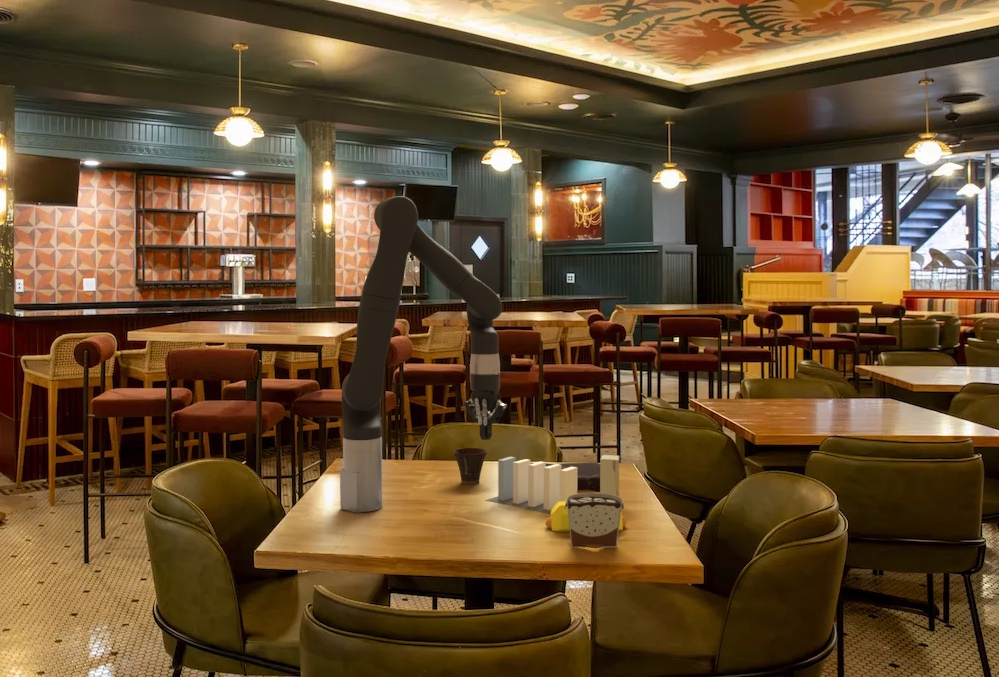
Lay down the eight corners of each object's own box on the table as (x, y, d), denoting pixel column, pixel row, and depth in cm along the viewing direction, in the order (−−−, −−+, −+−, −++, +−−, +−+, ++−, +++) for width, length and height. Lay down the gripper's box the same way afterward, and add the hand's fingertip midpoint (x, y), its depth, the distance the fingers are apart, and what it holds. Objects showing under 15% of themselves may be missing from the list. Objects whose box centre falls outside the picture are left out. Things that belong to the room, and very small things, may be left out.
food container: (618, 538, 180) (619, 492, 179) (624, 547, 173) (624, 499, 173) (561, 538, 179) (561, 492, 179) (564, 547, 173) (564, 499, 172)
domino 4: (549, 510, 199) (549, 468, 199) (543, 509, 200) (543, 467, 200) (561, 505, 203) (561, 464, 203) (555, 504, 204) (555, 463, 204)
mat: (569, 520, 193) (569, 517, 193) (485, 502, 208) (485, 500, 208) (592, 511, 201) (592, 508, 201) (509, 494, 216) (509, 492, 216)
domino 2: (518, 503, 205) (518, 463, 205) (513, 502, 206) (513, 462, 206) (530, 499, 209) (530, 459, 208) (525, 498, 210) (525, 459, 209)
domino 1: (503, 500, 208) (503, 460, 207) (498, 499, 209) (498, 459, 208) (515, 496, 212) (515, 457, 211) (510, 495, 213) (510, 456, 212)
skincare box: (617, 510, 201) (618, 460, 201) (599, 509, 202) (599, 459, 201) (619, 504, 208) (619, 454, 207) (601, 503, 208) (602, 454, 208)
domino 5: (565, 513, 197) (565, 471, 196) (559, 512, 198) (560, 470, 197) (577, 509, 201) (577, 467, 200) (571, 507, 202) (571, 466, 201)
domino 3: (533, 506, 202) (533, 465, 202) (528, 505, 203) (528, 464, 203) (545, 502, 206) (545, 462, 206) (540, 501, 207) (540, 461, 207)
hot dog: (630, 535, 182) (623, 525, 190) (630, 505, 182) (623, 496, 189) (547, 536, 181) (543, 526, 189) (547, 506, 181) (543, 497, 189)
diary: (615, 494, 220) (615, 475, 220) (522, 498, 216) (522, 479, 215) (594, 477, 239) (594, 459, 238) (507, 480, 234) (508, 462, 234)
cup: (496, 484, 225) (491, 447, 224) (464, 491, 222) (459, 454, 221) (484, 478, 233) (479, 443, 232) (454, 485, 230) (449, 449, 229)
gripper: (455, 371, 214) (456, 438, 215) (496, 374, 206) (496, 444, 207) (474, 368, 220) (475, 434, 221) (514, 371, 212) (515, 440, 213)
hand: (485, 439), depth 214 cm, fingers closed
